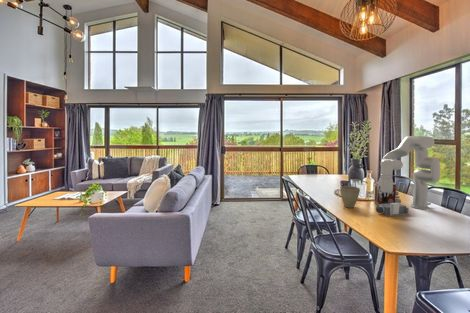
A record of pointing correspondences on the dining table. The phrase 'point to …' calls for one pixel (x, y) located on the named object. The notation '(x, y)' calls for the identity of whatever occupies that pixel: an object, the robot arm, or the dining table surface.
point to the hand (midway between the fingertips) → (384, 201)
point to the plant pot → (349, 195)
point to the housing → (386, 209)
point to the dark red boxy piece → (390, 198)
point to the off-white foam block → (394, 208)
